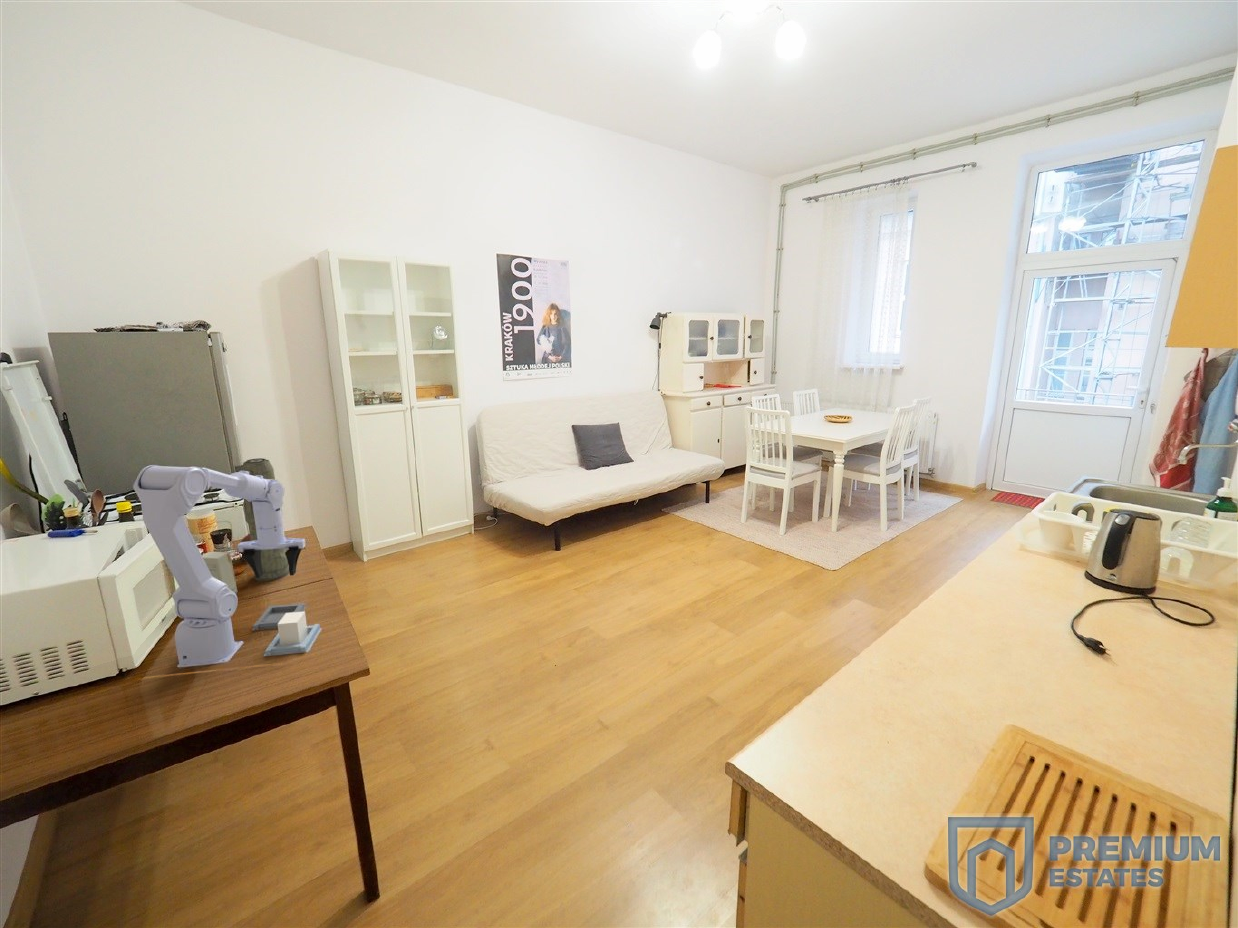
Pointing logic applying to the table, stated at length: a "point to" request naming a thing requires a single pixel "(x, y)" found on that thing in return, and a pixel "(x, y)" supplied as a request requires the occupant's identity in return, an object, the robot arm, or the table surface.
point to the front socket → (298, 648)
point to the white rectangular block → (292, 628)
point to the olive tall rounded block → (270, 558)
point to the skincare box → (221, 568)
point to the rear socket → (276, 615)
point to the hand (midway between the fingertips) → (276, 575)
